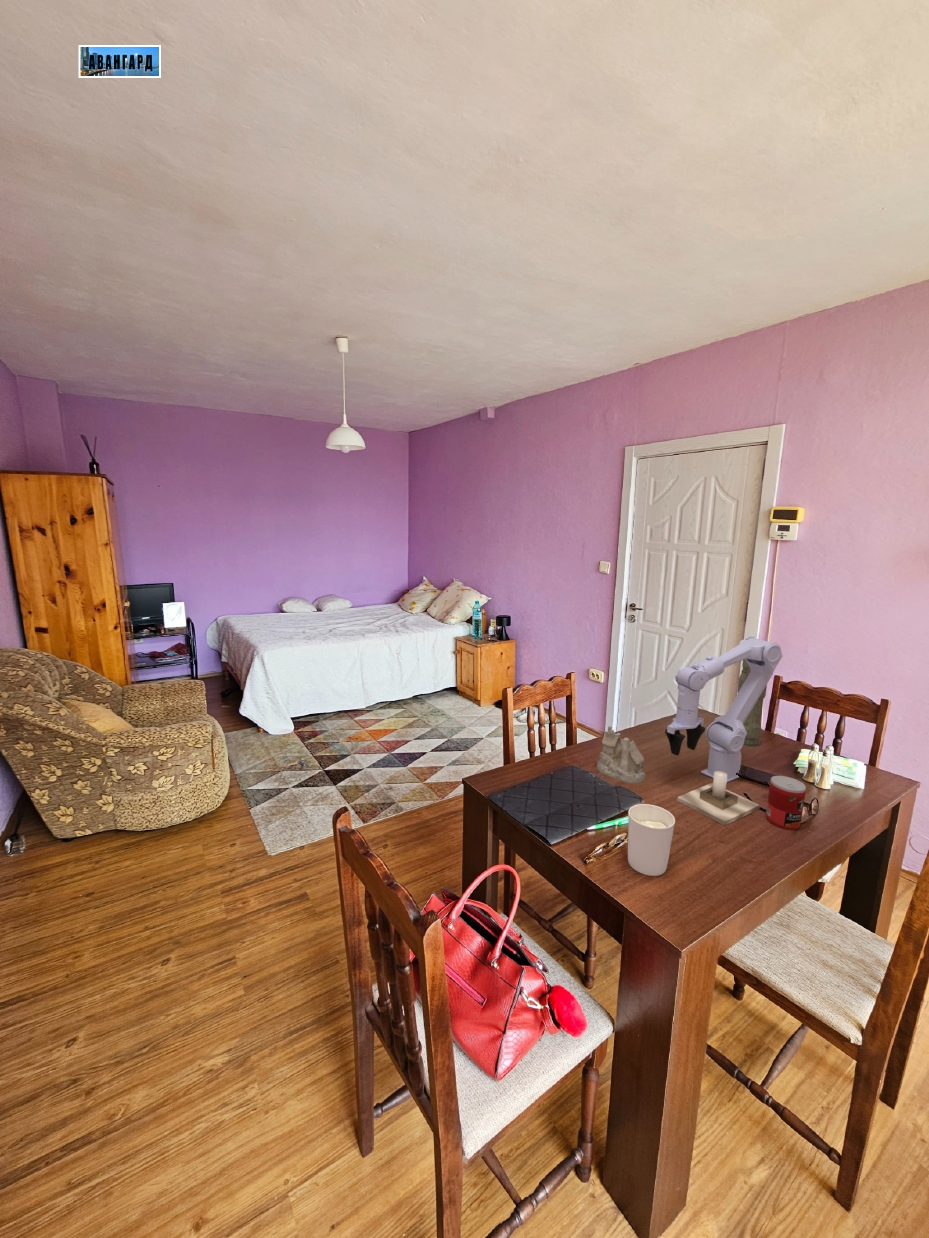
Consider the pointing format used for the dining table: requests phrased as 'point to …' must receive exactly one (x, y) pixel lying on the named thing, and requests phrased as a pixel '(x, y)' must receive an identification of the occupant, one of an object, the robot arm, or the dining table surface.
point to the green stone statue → (752, 711)
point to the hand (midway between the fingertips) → (683, 751)
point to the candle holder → (649, 838)
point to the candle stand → (718, 804)
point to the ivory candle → (719, 785)
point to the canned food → (785, 802)
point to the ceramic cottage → (620, 758)
